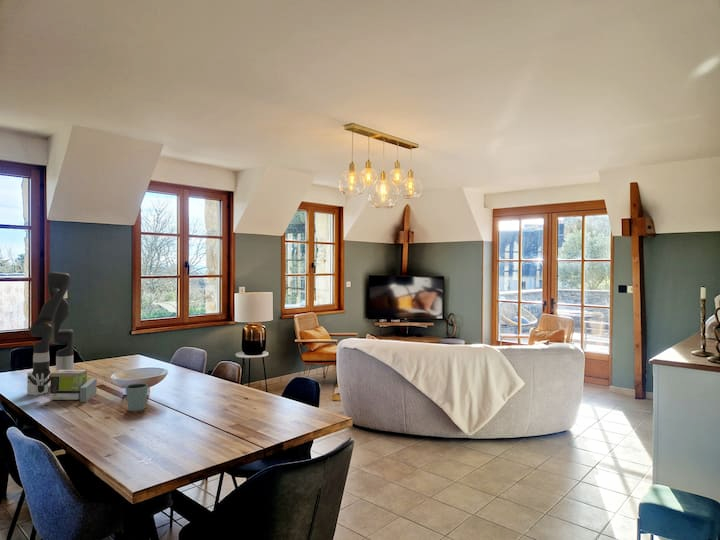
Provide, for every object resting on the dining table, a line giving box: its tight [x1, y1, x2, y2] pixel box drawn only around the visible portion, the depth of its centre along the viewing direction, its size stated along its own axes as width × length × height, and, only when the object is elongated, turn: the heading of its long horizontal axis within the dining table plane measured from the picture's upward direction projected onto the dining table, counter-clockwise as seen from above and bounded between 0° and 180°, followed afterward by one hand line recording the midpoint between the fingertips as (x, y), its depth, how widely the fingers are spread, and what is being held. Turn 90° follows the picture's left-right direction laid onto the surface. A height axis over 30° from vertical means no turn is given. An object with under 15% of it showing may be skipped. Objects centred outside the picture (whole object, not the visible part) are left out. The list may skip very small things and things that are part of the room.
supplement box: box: [26, 371, 49, 397], centre depth 278 cm, size 7×7×13 cm
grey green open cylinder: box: [125, 382, 149, 412], centre depth 251 cm, size 10×10×12 cm
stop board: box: [79, 377, 98, 403], centre depth 273 cm, size 22×3×8 cm, turn 15°
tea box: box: [49, 369, 88, 401], centre depth 270 cm, size 15×10×15 cm, turn 97°
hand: (40, 392), depth 266 cm, fingers closed
